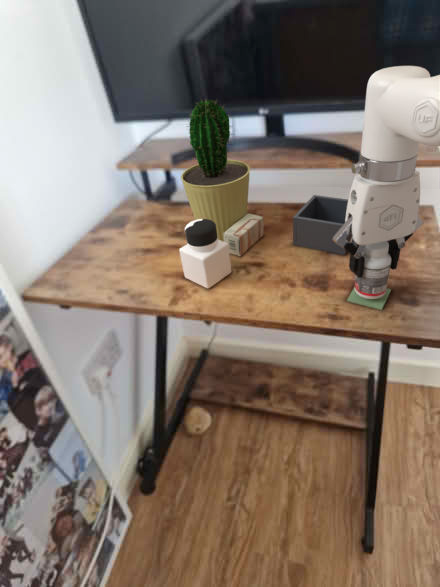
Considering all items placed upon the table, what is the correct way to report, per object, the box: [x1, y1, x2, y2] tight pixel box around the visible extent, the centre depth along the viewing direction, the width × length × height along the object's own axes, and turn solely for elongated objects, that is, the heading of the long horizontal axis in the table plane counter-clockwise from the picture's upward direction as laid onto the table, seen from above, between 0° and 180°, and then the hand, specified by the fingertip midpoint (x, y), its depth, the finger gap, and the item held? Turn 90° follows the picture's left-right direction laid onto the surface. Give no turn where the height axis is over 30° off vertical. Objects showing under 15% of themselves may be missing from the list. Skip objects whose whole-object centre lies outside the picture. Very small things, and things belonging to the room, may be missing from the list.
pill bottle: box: [354, 241, 391, 299], centre depth 69 cm, size 5×5×10 cm
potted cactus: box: [180, 98, 251, 242], centre depth 89 cm, size 15×15×30 cm
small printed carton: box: [223, 212, 265, 257], centre depth 90 cm, size 5×4×10 cm
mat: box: [346, 286, 392, 311], centre depth 72 cm, size 6×6×1 cm
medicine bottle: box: [178, 219, 232, 289], centre depth 80 cm, size 7×7×12 cm
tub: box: [292, 194, 352, 256], centre depth 88 cm, size 12×12×7 cm
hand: (372, 268), depth 69 cm, fingers closed on pill bottle, 5 cm apart
